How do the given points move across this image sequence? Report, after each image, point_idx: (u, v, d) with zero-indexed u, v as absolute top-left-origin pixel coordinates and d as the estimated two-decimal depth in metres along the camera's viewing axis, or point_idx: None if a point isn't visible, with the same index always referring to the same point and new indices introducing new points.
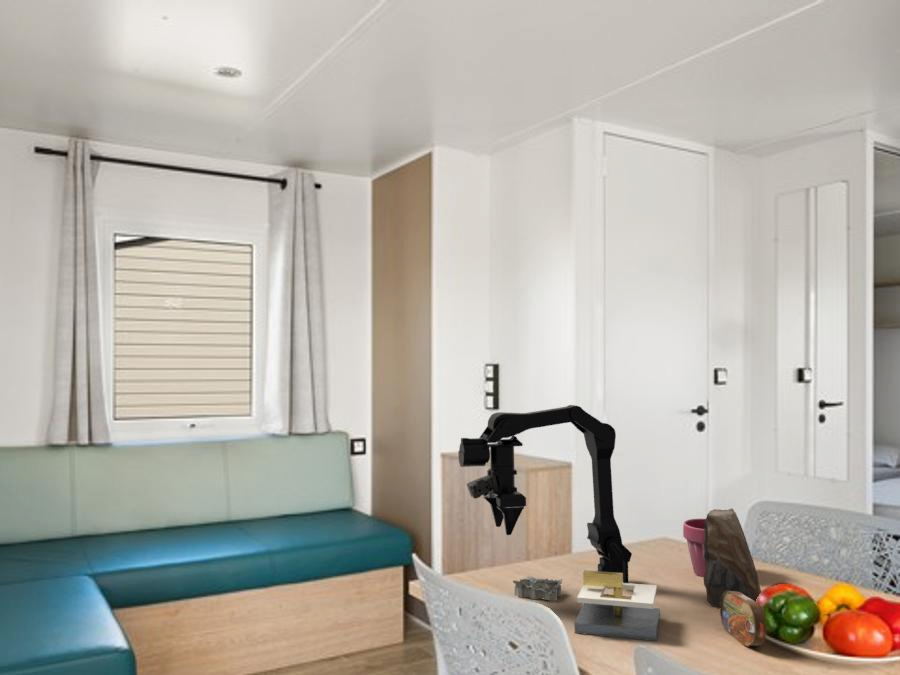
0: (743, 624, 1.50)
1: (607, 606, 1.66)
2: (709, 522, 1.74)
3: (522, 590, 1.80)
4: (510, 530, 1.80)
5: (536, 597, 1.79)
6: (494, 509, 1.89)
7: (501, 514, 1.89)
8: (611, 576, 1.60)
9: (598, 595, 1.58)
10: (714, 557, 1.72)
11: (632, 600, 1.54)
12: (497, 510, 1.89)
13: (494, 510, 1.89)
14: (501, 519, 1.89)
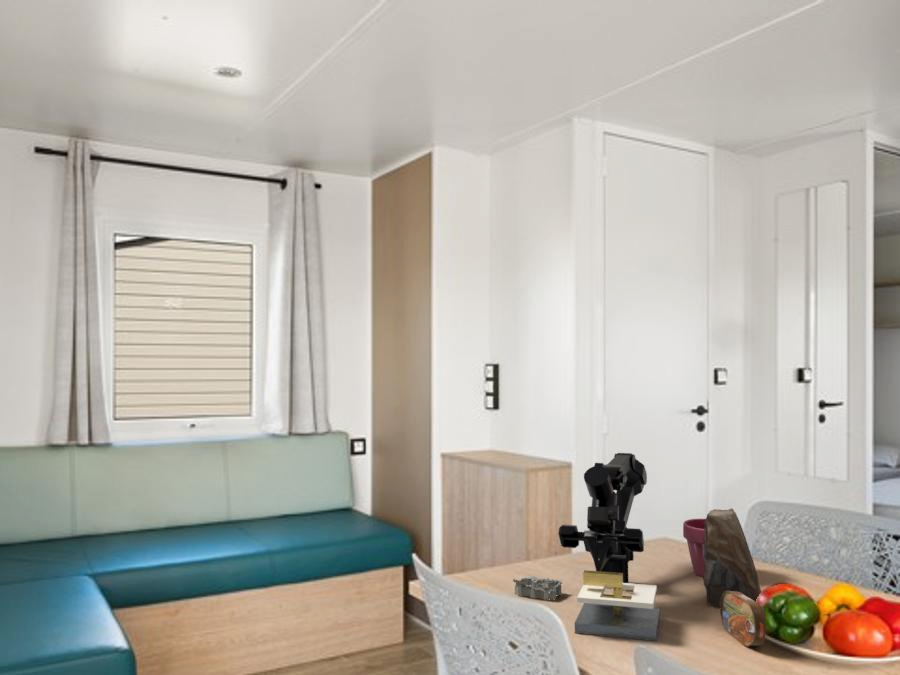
0: (743, 624, 1.50)
1: (607, 606, 1.66)
2: (709, 522, 1.74)
3: (521, 589, 1.81)
4: (601, 568, 1.71)
5: (535, 596, 1.79)
6: (597, 553, 1.73)
7: (598, 561, 1.73)
8: (611, 576, 1.60)
9: (598, 595, 1.58)
10: (714, 557, 1.72)
11: (632, 600, 1.54)
12: None
13: (597, 553, 1.73)
14: None
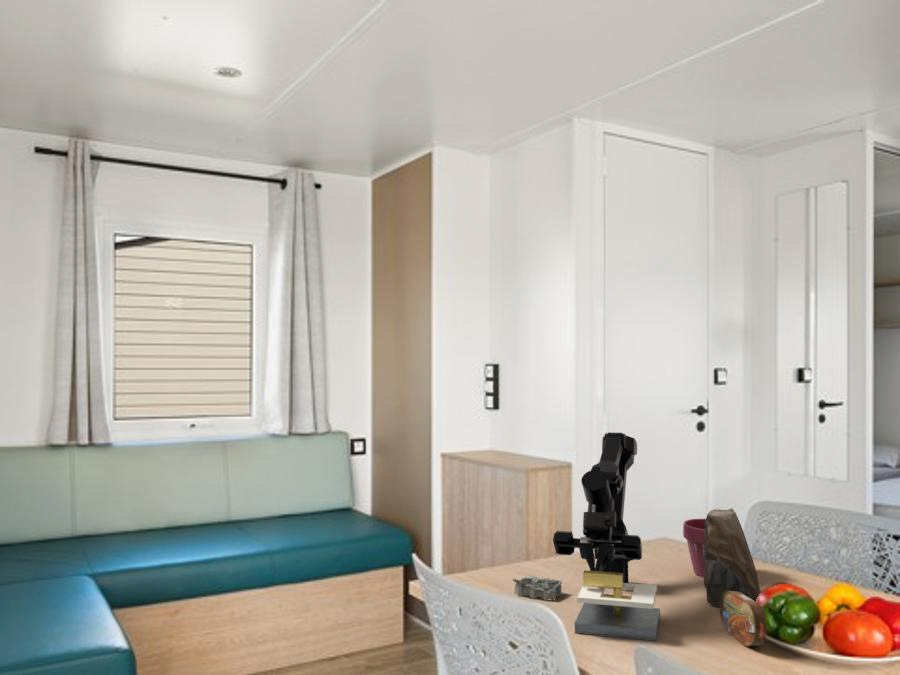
0: (743, 624, 1.50)
1: (607, 606, 1.66)
2: (709, 522, 1.74)
3: (521, 589, 1.81)
4: None
5: (535, 596, 1.80)
6: (593, 560, 1.66)
7: None
8: (611, 576, 1.60)
9: (598, 595, 1.58)
10: (714, 557, 1.72)
11: (632, 600, 1.54)
12: (594, 563, 1.66)
13: (593, 560, 1.65)
14: None
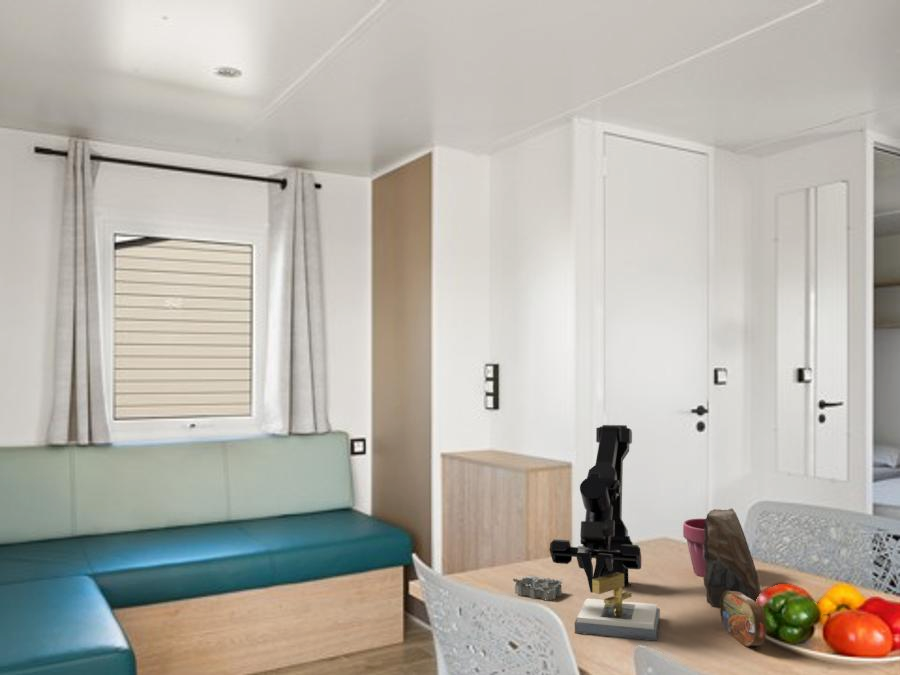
0: (743, 624, 1.50)
1: None
2: (709, 522, 1.74)
3: (521, 589, 1.81)
4: None
5: (535, 596, 1.80)
6: (591, 571, 1.60)
7: None
8: (617, 578, 1.59)
9: (598, 615, 1.58)
10: (714, 557, 1.72)
11: (632, 620, 1.54)
12: (592, 573, 1.61)
13: (591, 571, 1.60)
14: None
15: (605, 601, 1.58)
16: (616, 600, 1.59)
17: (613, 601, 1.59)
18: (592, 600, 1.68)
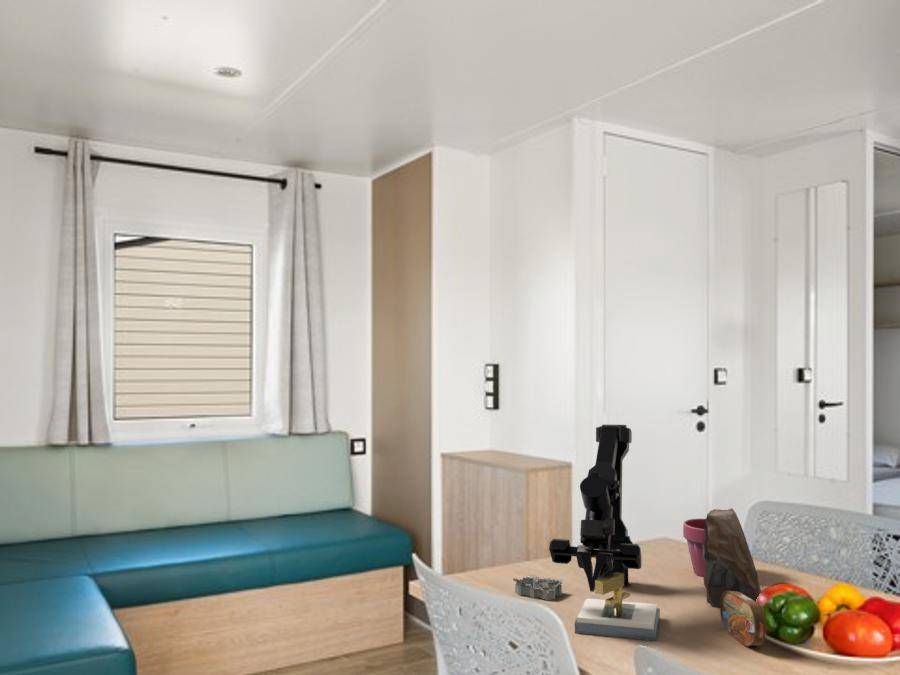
0: (742, 624, 1.50)
1: None
2: (709, 522, 1.74)
3: (521, 588, 1.82)
4: None
5: (535, 596, 1.80)
6: (591, 570, 1.59)
7: None
8: (618, 578, 1.59)
9: (598, 615, 1.58)
10: (714, 557, 1.72)
11: (632, 620, 1.54)
12: (591, 572, 1.60)
13: (591, 570, 1.59)
14: None
15: (607, 601, 1.58)
16: (617, 600, 1.59)
17: (614, 601, 1.59)
18: (592, 600, 1.68)
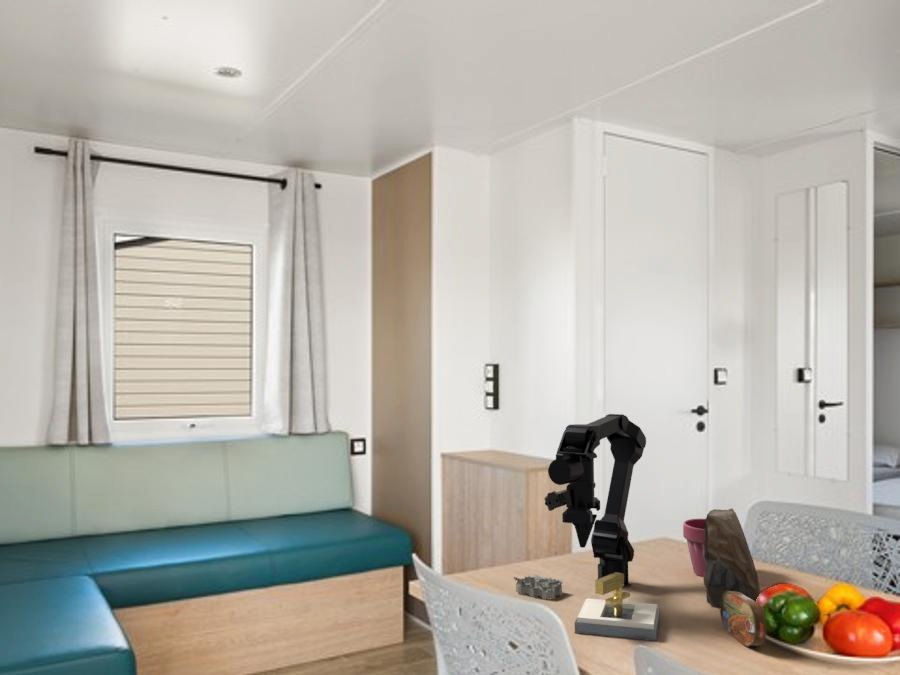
0: (743, 624, 1.50)
1: None
2: (709, 522, 1.74)
3: (521, 587, 1.82)
4: (583, 543, 1.78)
5: (534, 595, 1.81)
6: None
7: None
8: (618, 578, 1.59)
9: (598, 615, 1.58)
10: (714, 557, 1.72)
11: (632, 620, 1.54)
12: None
13: None
14: None
15: (607, 602, 1.58)
16: (617, 600, 1.59)
17: (614, 601, 1.59)
18: (592, 600, 1.68)
